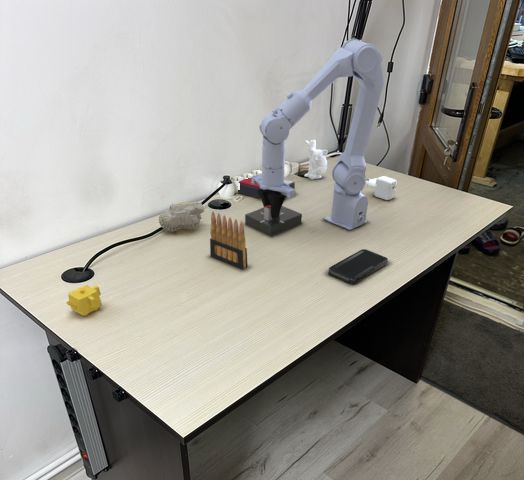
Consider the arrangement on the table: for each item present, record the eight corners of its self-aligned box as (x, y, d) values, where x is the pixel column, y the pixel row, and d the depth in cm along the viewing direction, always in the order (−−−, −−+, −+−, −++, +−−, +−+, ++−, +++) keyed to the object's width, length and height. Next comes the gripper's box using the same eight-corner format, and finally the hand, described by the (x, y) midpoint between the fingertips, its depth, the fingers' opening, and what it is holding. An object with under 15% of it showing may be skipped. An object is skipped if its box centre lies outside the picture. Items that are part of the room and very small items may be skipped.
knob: (275, 214, 138) (276, 201, 136) (280, 216, 137) (280, 203, 135) (263, 219, 136) (264, 206, 133) (268, 221, 135) (268, 208, 132)
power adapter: (358, 192, 159) (360, 173, 156) (367, 188, 162) (369, 170, 158) (387, 202, 153) (390, 183, 150) (396, 197, 156) (399, 179, 152)
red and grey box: (258, 171, 163) (295, 179, 155) (258, 184, 165) (295, 193, 158) (236, 181, 156) (273, 189, 148) (237, 194, 159) (274, 204, 151)
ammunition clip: (247, 267, 121) (247, 220, 114) (242, 270, 120) (242, 223, 112) (215, 254, 126) (212, 209, 119) (210, 256, 125) (207, 211, 117)
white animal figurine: (298, 177, 170) (300, 140, 162) (310, 172, 174) (312, 136, 166) (318, 183, 165) (321, 145, 158) (330, 178, 169) (333, 141, 162)
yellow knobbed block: (80, 324, 102) (75, 303, 99) (64, 314, 105) (57, 294, 101) (112, 307, 107) (107, 287, 104) (95, 298, 110) (90, 278, 106)
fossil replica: (154, 228, 138) (175, 244, 132) (150, 201, 132) (171, 216, 127) (190, 214, 143) (211, 228, 138) (187, 187, 137) (209, 200, 132)
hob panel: (303, 224, 140) (303, 214, 138) (271, 238, 133) (272, 227, 131) (275, 212, 146) (275, 202, 144) (244, 225, 140) (243, 214, 138)
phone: (326, 268, 118) (363, 248, 126) (326, 273, 119) (363, 252, 127) (353, 281, 114) (390, 258, 122) (352, 285, 114) (389, 262, 123)
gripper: (243, 162, 129) (243, 211, 138) (282, 176, 121) (280, 228, 130) (262, 156, 133) (262, 205, 142) (301, 170, 125) (298, 221, 134)
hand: (272, 215), depth 136 cm, fingers closed on knob, 2 cm apart
